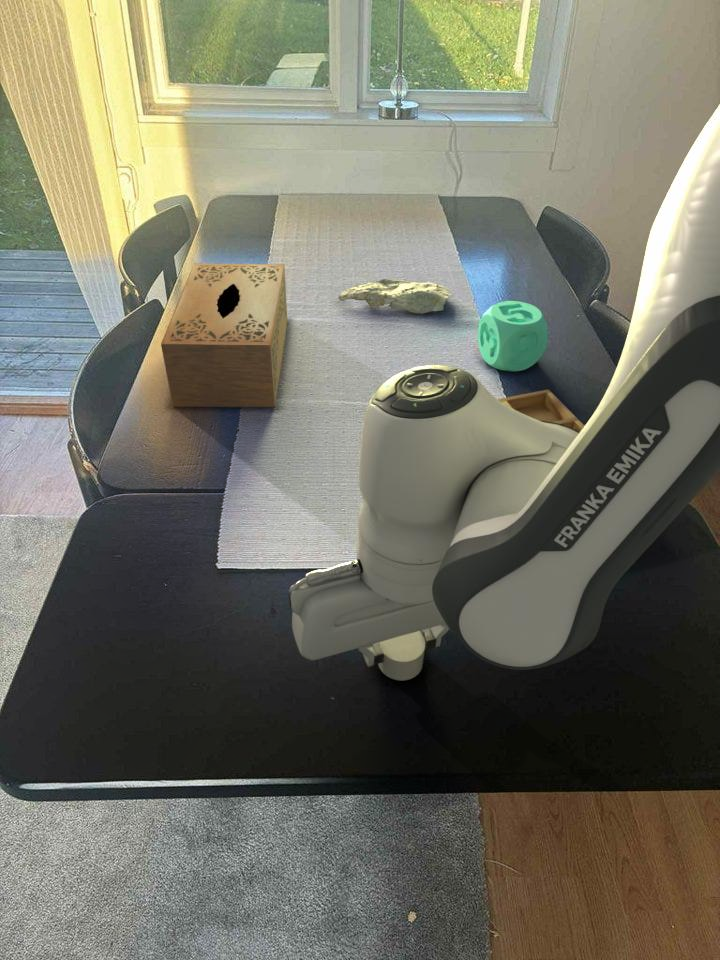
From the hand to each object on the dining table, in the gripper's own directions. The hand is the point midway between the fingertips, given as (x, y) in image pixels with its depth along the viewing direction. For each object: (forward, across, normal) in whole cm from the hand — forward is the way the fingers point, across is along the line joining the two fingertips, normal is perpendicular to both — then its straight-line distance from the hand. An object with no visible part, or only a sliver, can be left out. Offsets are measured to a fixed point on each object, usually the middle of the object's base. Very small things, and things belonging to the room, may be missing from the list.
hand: (401, 650), depth 66 cm
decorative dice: (+2, +37, +47) cm, 60 cm away
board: (+2, +25, +23) cm, 34 cm away
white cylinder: (+2, 0, 0) cm, 2 cm away
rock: (+2, +28, +70) cm, 75 cm away
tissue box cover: (+2, -4, +60) cm, 60 cm away
